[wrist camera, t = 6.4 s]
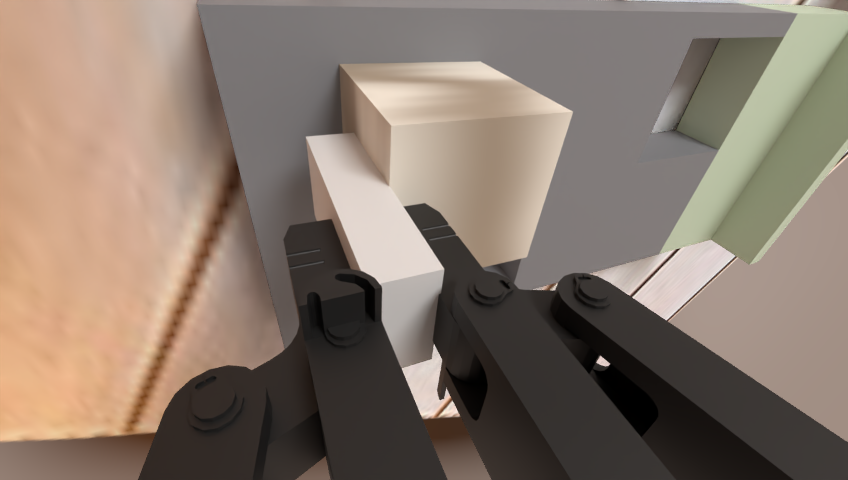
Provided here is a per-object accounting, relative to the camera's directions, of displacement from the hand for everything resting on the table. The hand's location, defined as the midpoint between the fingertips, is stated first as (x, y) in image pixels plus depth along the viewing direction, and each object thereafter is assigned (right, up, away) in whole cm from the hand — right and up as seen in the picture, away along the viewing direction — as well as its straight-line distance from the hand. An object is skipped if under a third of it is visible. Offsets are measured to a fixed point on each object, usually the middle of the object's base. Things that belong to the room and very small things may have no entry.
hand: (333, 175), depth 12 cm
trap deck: (+10, +3, +10) cm, 14 cm away
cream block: (+2, +2, +2) cm, 4 cm away
